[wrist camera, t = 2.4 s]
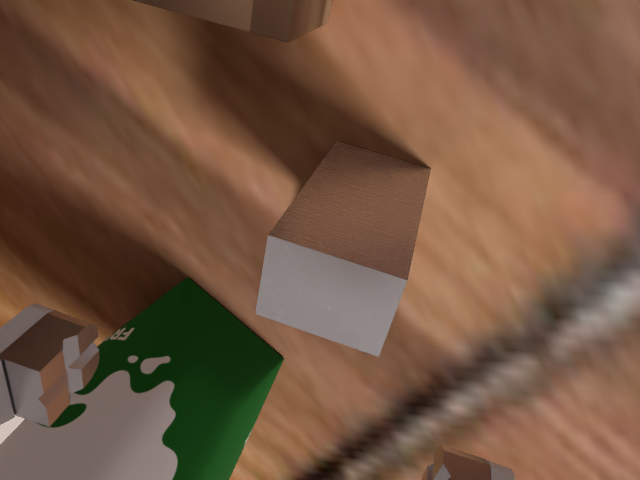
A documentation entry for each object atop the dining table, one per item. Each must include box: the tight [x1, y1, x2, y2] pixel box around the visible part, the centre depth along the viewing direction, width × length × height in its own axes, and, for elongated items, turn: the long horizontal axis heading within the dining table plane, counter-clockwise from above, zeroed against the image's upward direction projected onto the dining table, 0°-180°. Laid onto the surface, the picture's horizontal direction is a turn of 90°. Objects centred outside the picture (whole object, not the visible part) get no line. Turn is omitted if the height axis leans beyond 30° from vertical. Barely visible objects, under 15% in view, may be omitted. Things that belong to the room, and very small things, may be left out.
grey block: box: [255, 141, 431, 357], centre depth 18 cm, size 4×7×8 cm, turn 169°
